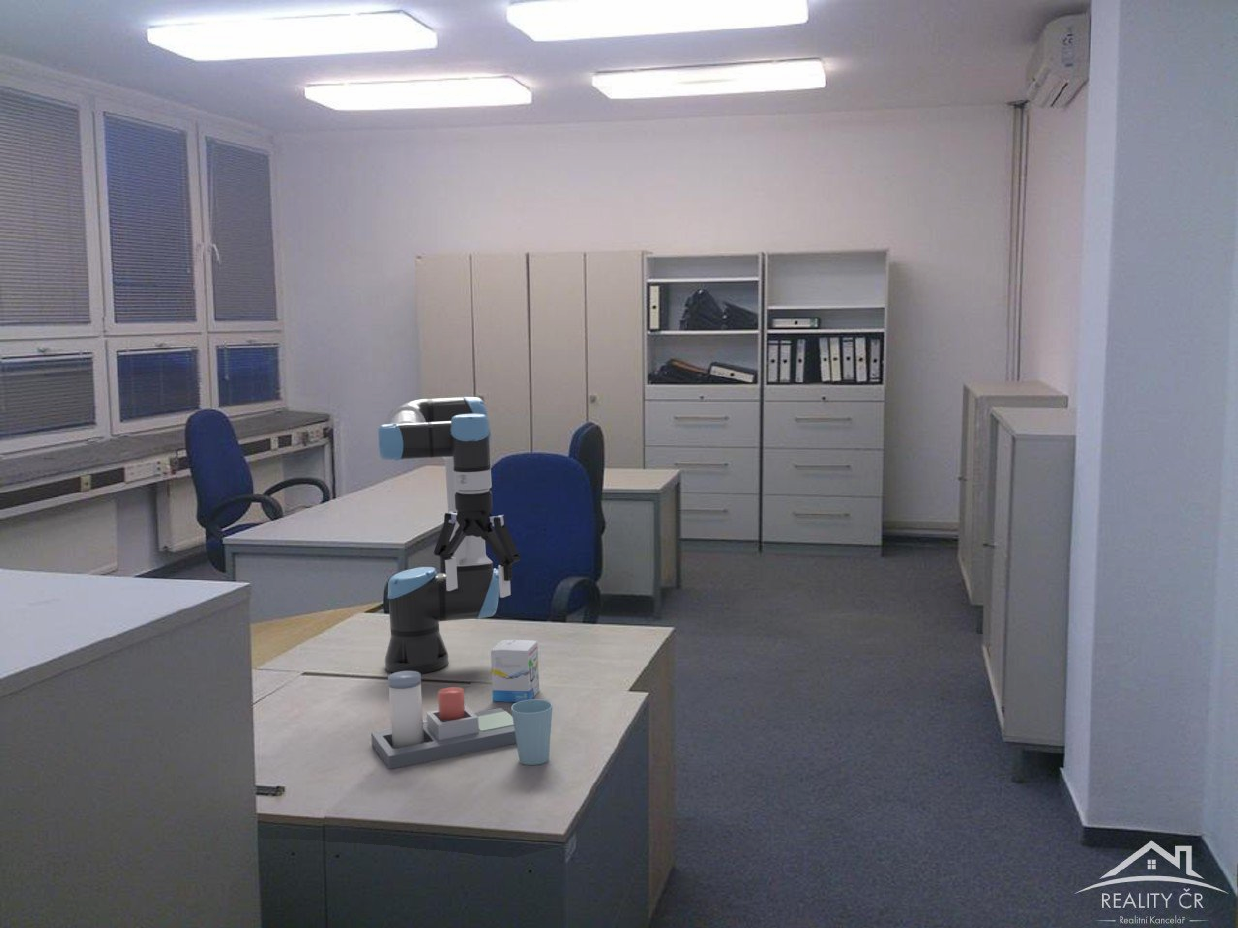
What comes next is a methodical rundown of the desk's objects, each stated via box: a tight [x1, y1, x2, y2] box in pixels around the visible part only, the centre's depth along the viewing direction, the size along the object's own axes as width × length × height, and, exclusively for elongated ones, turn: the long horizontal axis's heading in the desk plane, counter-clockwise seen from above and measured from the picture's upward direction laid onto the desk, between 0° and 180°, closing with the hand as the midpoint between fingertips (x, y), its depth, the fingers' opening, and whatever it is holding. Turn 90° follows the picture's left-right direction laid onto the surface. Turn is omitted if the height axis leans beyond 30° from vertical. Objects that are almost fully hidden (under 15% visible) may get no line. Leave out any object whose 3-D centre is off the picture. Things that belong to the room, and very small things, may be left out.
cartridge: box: [387, 671, 425, 749], centre depth 212 cm, size 6×6×15 cm
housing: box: [370, 705, 517, 770], centre depth 216 cm, size 14×27×6 cm, turn 116°
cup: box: [510, 698, 553, 766], centre depth 206 cm, size 8×8×10 cm
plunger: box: [437, 686, 465, 720], centre depth 216 cm, size 5×5×5 cm
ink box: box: [490, 639, 540, 703], centre depth 242 cm, size 8×8×12 cm
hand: (478, 592), depth 226 cm, fingers open, 13 cm apart
